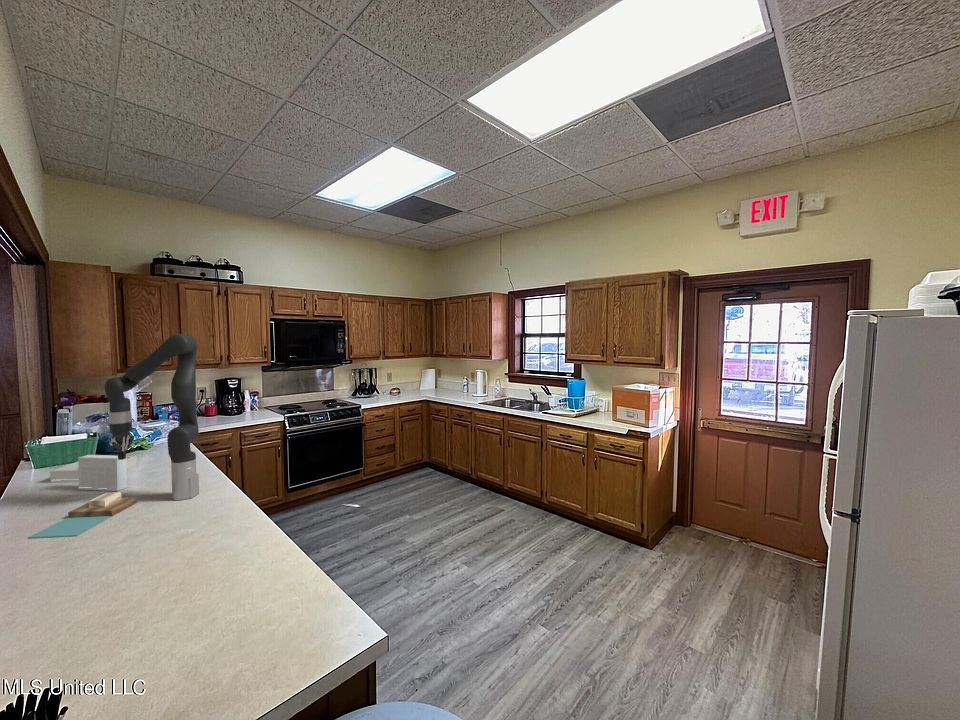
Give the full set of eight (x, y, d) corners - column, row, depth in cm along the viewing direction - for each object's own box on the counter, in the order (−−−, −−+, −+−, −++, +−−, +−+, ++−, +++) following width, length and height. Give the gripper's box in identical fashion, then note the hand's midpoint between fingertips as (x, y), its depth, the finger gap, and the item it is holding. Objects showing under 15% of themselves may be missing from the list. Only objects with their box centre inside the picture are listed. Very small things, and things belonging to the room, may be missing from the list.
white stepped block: (137, 466, 228) (137, 455, 228) (103, 481, 204) (102, 469, 204) (90, 467, 225) (90, 457, 225) (50, 482, 201) (49, 471, 201)
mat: (111, 517, 164) (111, 516, 164) (76, 536, 148) (76, 535, 148) (67, 518, 162) (67, 517, 162) (27, 538, 146) (27, 537, 146)
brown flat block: (136, 502, 178) (136, 497, 178) (112, 516, 164) (111, 510, 164) (96, 504, 176) (96, 498, 176) (68, 518, 162) (68, 512, 162)
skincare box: (128, 487, 196) (127, 455, 195) (117, 491, 190) (116, 458, 190) (89, 485, 198) (88, 454, 197) (77, 489, 193) (76, 457, 192)
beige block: (121, 498, 176) (121, 492, 176) (105, 507, 167) (104, 500, 167) (106, 499, 175) (106, 492, 175) (89, 508, 166) (88, 501, 166)
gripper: (118, 424, 173) (120, 463, 174) (140, 418, 186) (141, 454, 187) (99, 424, 172) (101, 464, 173) (122, 418, 185) (124, 455, 186)
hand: (122, 459), depth 180 cm, fingers closed
